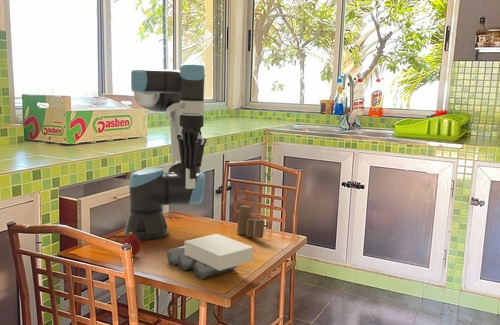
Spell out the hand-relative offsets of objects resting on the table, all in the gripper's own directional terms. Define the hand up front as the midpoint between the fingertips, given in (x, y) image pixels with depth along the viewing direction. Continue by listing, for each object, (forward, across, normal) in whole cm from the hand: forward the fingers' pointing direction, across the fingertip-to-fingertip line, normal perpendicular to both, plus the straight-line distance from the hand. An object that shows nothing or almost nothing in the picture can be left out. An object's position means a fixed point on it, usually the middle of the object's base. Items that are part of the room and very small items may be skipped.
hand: (190, 188), depth 154 cm
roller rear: (+20, +7, -6) cm, 22 cm away
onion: (+21, -5, -18) cm, 28 cm away
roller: (+17, +24, -6) cm, 30 cm away
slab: (+15, +22, -6) cm, 28 cm away
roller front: (+20, +15, -6) cm, 26 cm away
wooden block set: (+21, 0, +26) cm, 34 cm away
